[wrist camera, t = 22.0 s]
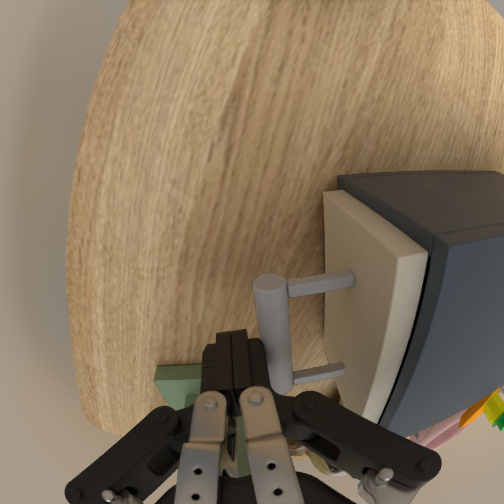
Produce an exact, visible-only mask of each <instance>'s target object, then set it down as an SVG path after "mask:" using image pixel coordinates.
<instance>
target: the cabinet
mask: <svg viewBox="0 0 504 504" xmlns="http://www.w3.org/2000/svg"><path fill="white" fill-rule="evenodd" d="M338 190H344V191H346V192H347V193H349V194H350V195H352V196H353V197H355V198H356V199H358V200H359V201H361V202H362V203H363V204H365V205H366V206H368V207H369V208H371V209H372V210H373V211H375V212H376V213H378V214H379V215H380V216H382V217H383V218H385V219H386V220H387V221H389V222H390V223H391V224H393V225H394V226H395V227H397V228H398V229H399V230H401V231H402V232H403V233H405V234H406V235H407V236H409V237H410V238H411V239H412V240H414V241H415V242H416V243H417V244H419V245H420V246H421V247H422V248H424V249H425V250H426V251H427V252H428V256H429V257H431V263H430V268H429V273H428V278H427V283H426V288H425V292H424V297H423V301H422V305H421V309H420V313H419V317H418V321H417V324H416V328H415V331H414V335H413V338H412V341H411V344H410V348H409V351H408V354H407V357H406V360H405V363H404V365H403V368H402V371H401V374H400V376H399V379H398V382H397V384H396V387H395V389H394V392H393V394H392V397H391V399H390V401H388V400H387V402H386V405H385V407H384V409H383V412H382V414H381V416H380V418H379V421H378V423H377V425H379V426H381V427H383V428H385V429H387V430H390V431H392V432H394V433H396V434H398V435H400V436H402V437H404V438H405V437H408V436H410V435H413V434H415V433H417V432H420V431H422V430H424V429H426V428H429V427H431V426H433V425H435V424H437V423H439V422H441V421H443V420H445V419H447V418H449V417H451V416H453V415H455V414H457V413H459V412H460V411H462V410H464V409H466V408H468V407H469V406H471V405H473V404H474V403H476V402H478V401H479V400H481V399H483V398H484V397H486V396H487V395H489V394H491V393H492V392H494V391H495V390H497V389H498V388H500V387H501V386H502V385H504V174H501V173H498V172H495V171H406V172H383V173H366V174H352V175H339V176H338Z"/></svg>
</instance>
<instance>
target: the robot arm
mask: <svg viewBox="0 0 504 504" xmlns="http://www.w3.org/2000/svg"><path fill="white" fill-rule="evenodd" d="M239 416H242V419H243V425H244V431H245V436H246V448H247V454H248V459H249V464H250V469H251V474H250V475H247V476H244V477H240V478H238V469H237V419H236V417H239ZM286 438H288V439H295V440H296V441H297V442H298V443H300V444H301V445H303V446H304V447H306V448H307V449H309V450H310V451H312V452H313V453H315V454H317V455H318V456H320V457H321V458H323V459H324V460H326V461H328V462H329V463H331V464H332V465H334V466H336V467H337V468H339V469H341V470H343V471H344V472H346V473H348V474H349V475H351V476H353V477H355V478H357V479H358V480H360V482H359V484H358V493H359V495H360V496H361V497H362V498H363V499H364V500H366V502H367V503H368V504H410V503H411V501H412V500H413V499H414V497H415V496H416V494H417V493H418V491H419V489H420V488H421V487H422V486H423V485H425V484H426V483H427V482H429V481H430V480H431V479H433V478H434V477H435V476H436V475H437V474H438V473H439V471H440V469H441V465H442V461H441V458H440V456H439V454H437V452H435V451H433V450H431V449H429V448H426V447H424V446H422V445H420V444H417V443H415V442H413V441H411V440H408V439H406V438H404V437H402V436H400V435H398V434H396V433H394V432H392V431H390V430H387V429H385V428H383V427H381V426H379V425H377V424H375V423H374V422H372V421H370V420H368V419H366V418H364V417H362V416H360V415H358V414H356V413H354V412H353V411H351V410H349V409H347V408H345V407H343V406H342V405H340V404H338V403H336V402H335V401H333V400H331V399H329V398H328V397H326V396H324V395H322V394H321V393H319V392H316V391H305V392H302V393H300V394H298V395H297V396H296V397H291V396H283V395H280V394H278V393H277V392H275V391H274V390H273V389H272V387H271V384H270V378H269V372H268V366H267V360H266V354H265V348H264V344H263V343H262V341H261V340H260V339H259V338H252V339H248V335H247V330H246V329H242V330H235V331H232V332H231V331H228V332H220V333H216V343H215V344H207V346H206V348H205V349H204V351H203V355H202V370H201V387H200V395H199V396H198V397H197V398H196V400H195V403H193V404H192V405H190V406H188V407H186V408H183V409H180V410H176V411H175V410H174V409H173V408H171V407H169V406H161V407H157V408H155V409H154V410H153V411H151V412H150V413H149V414H148V415H147V416H146V417H145V418H144V419H143V420H142V421H140V422H139V423H138V424H137V425H136V426H135V427H134V428H133V429H132V430H130V431H129V432H128V433H127V434H126V435H125V436H124V437H122V438H121V439H120V440H119V441H118V442H117V443H116V444H114V445H113V446H112V447H111V448H110V449H109V450H107V451H106V452H105V453H104V454H103V455H102V456H100V457H99V458H98V459H97V460H96V461H95V462H93V463H92V464H91V465H90V466H89V467H87V468H86V469H85V470H84V471H82V472H81V473H80V474H79V475H78V476H76V477H75V478H74V479H73V480H72V481H70V482H69V483H68V484H67V485H66V488H65V497H66V499H67V500H68V502H69V503H70V504H143V501H144V500H145V499H146V498H147V497H148V496H149V495H151V494H152V493H153V492H154V491H155V490H156V489H157V488H158V487H159V486H160V485H161V484H162V483H163V482H164V481H165V480H166V479H167V478H168V477H170V476H171V475H172V474H173V473H174V472H175V471H176V470H177V469H178V468H179V471H178V478H177V484H176V485H174V486H172V487H171V488H170V489H169V490H168V491H167V492H166V493H165V494H164V495H163V496H162V497H161V498H160V499H159V500H158V501H157V502H156V503H155V504H356V503H355V502H353V501H351V500H350V499H348V498H346V497H345V496H343V495H342V494H340V493H339V492H337V491H335V490H334V489H332V488H331V487H329V486H328V485H327V484H325V483H324V482H322V481H320V480H319V479H318V478H316V477H314V476H312V475H309V474H306V473H302V472H296V471H295V469H294V465H293V462H292V458H291V455H290V451H289V448H288V444H287V441H286Z"/></svg>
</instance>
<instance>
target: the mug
mask: <svg viewBox="0 0 504 504" xmlns="http://www.w3.org/2000/svg"><path fill="white" fill-rule="evenodd" d="M469 407H470V406H469ZM469 407H468V408H469ZM468 408H466V409H464V410H462V411H460V412H459V413H457V414H455V415H453V416H451V417H449V418H447V419H445V420H443V421H441V422H439V423H437V424H435V425H433V426H431V427H429V428H426V429H424V430H422V431H420V432H417V433H415V434H413V435H410V440H411V441H413V442H415V443H417V444H420V445H422V446H424V447H426V448H429V449H431V450H435V449H437V448H439V447H441V446H442V445H444V444H446V443H448V442H449V441H451V440H452V439H454V438H455V437H456V436H457V435H459V434H460V433H461V432H463V431H464V430H465V429H466V428H467V427H468V426H469V425H470V424H471V423H470V424H468V425H466V426H465V427H463V428H460V429H459V423H460V418H461V416H462V415H463V414H464V413H465V412H466V410H467V409H468Z"/></svg>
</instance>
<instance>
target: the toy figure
mask: <svg viewBox="0 0 504 504" xmlns="http://www.w3.org/2000/svg"><path fill="white" fill-rule="evenodd" d="M500 388H501V387H500ZM500 388H498V389H497V390H495V391H494V392H492V393H491V394H489V395H487V396H486V397H484V398H483V399H481V400H479V401H478V402H476V403H474V404H473V405H471V406H470V407H469V408H468V409H467V410H466V412H465V413H464V414H463V415H462V416H461V418H460V423H459V429H460V428H463V427H465V426H466V425H468V424H470V423H472V422H473V421H474V420H475V419H476V418H477V417H478V416H480V415H481V414H482V413H483V412H484V413H485V414H486V416H487V418H488V419H489V421H490V423H493V427H495V426H496V425H498V427H499V429H500V431H502V430H503V429H504V402H503V401H502V399H501V397H500V396H499V394H498V393H499V390H500Z"/></svg>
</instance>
